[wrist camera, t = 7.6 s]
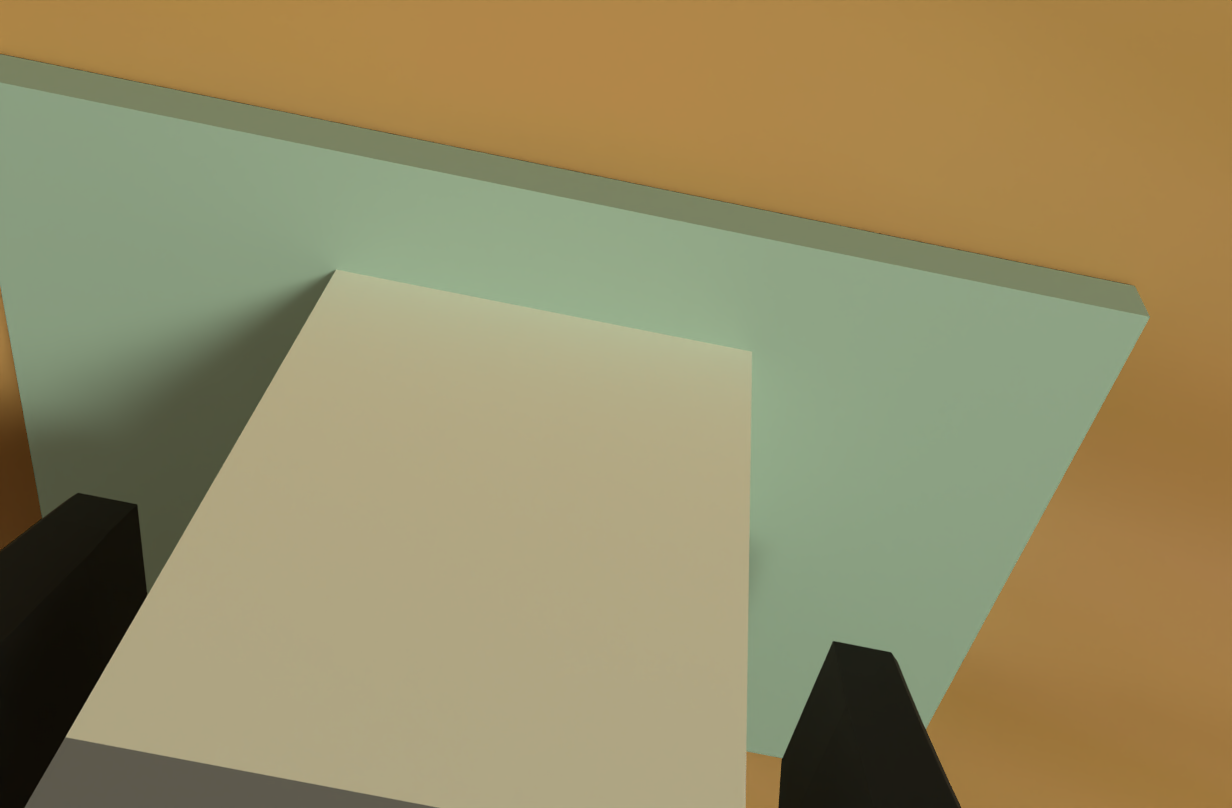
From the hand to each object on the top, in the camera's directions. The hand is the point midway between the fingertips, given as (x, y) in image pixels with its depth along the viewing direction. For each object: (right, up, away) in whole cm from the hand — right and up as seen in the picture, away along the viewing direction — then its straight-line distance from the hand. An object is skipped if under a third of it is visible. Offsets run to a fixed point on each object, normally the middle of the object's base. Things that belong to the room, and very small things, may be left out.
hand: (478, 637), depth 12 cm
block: (0, +1, +2) cm, 2 cm away
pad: (0, +2, +2) cm, 3 cm away
